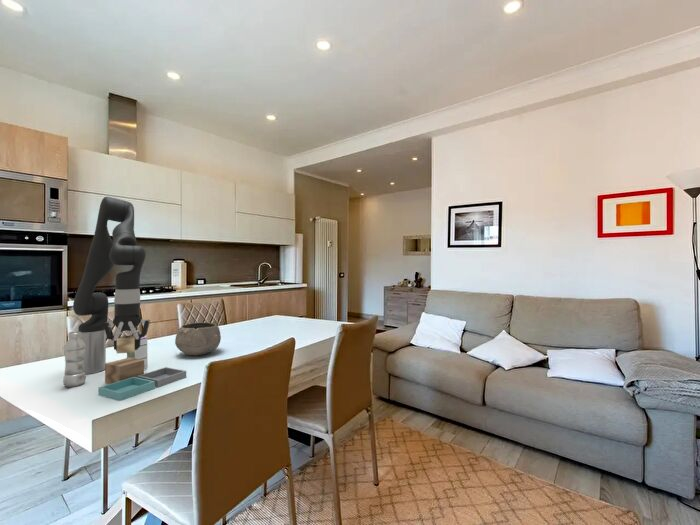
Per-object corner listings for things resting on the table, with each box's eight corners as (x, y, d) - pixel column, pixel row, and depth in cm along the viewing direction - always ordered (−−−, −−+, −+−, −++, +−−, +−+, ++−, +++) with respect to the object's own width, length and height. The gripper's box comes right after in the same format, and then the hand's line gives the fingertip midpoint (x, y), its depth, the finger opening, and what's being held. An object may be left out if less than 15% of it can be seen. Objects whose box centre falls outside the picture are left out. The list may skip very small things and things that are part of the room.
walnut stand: (104, 384, 124) (105, 363, 124) (129, 377, 132) (129, 357, 132) (119, 388, 120) (119, 366, 120) (144, 380, 128) (144, 360, 128)
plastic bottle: (67, 390, 118) (67, 334, 118) (59, 387, 121) (60, 332, 122) (88, 385, 123) (89, 331, 124) (81, 381, 127) (81, 330, 127)
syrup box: (148, 368, 143) (148, 335, 143) (134, 372, 138) (134, 338, 138) (139, 367, 145) (140, 334, 146) (126, 370, 140) (126, 336, 140)
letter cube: (116, 353, 113) (116, 338, 113) (121, 350, 117) (121, 335, 117) (133, 352, 114) (133, 337, 114) (137, 348, 119) (137, 334, 119)
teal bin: (98, 396, 113) (98, 387, 113) (133, 384, 124) (133, 376, 124) (119, 402, 108) (119, 393, 108) (154, 389, 119) (154, 381, 119)
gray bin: (136, 383, 124) (136, 376, 124) (165, 374, 135) (165, 367, 135) (157, 388, 119) (157, 380, 119) (186, 378, 130) (186, 370, 130)
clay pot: (217, 347, 181) (217, 319, 181) (224, 355, 163) (224, 325, 163) (173, 352, 170) (173, 323, 170) (176, 362, 152) (176, 330, 152)
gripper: (153, 300, 122) (152, 346, 122) (107, 301, 117) (106, 349, 117) (148, 302, 115) (148, 351, 115) (99, 303, 110) (98, 354, 110)
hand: (127, 349), depth 116 cm, fingers closed on letter cube, 5 cm apart
